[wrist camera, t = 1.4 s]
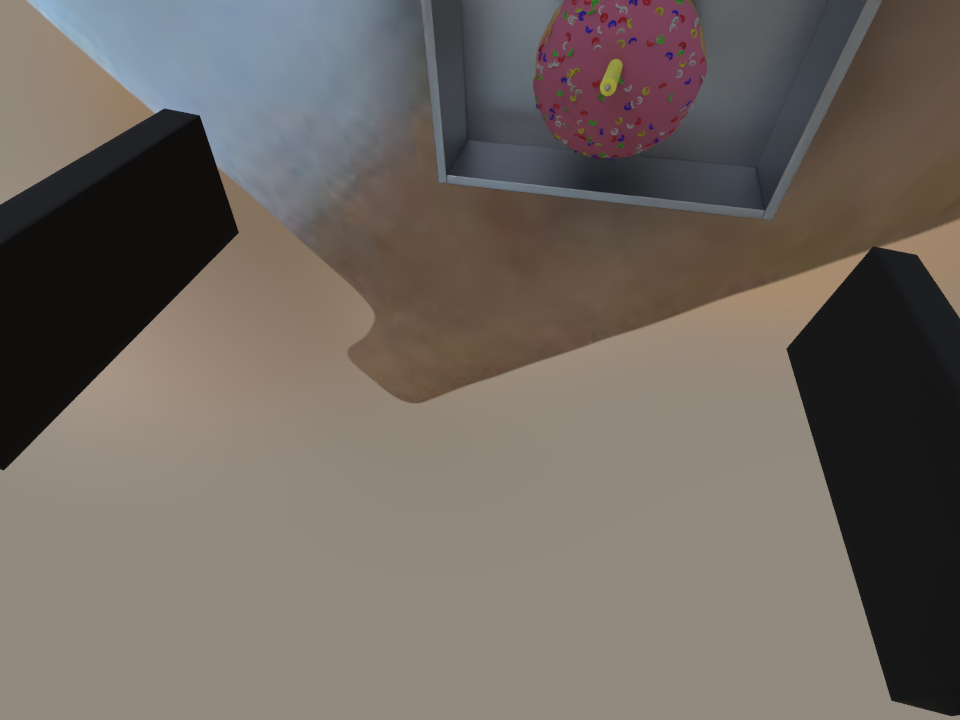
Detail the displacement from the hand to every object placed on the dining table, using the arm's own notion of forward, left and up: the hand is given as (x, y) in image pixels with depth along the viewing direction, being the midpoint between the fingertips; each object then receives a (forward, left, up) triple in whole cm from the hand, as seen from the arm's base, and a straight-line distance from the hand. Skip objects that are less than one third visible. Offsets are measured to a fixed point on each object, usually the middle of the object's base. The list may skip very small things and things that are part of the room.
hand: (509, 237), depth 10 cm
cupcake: (-1, +3, -24) cm, 24 cm away
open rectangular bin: (-1, +3, -24) cm, 25 cm away
